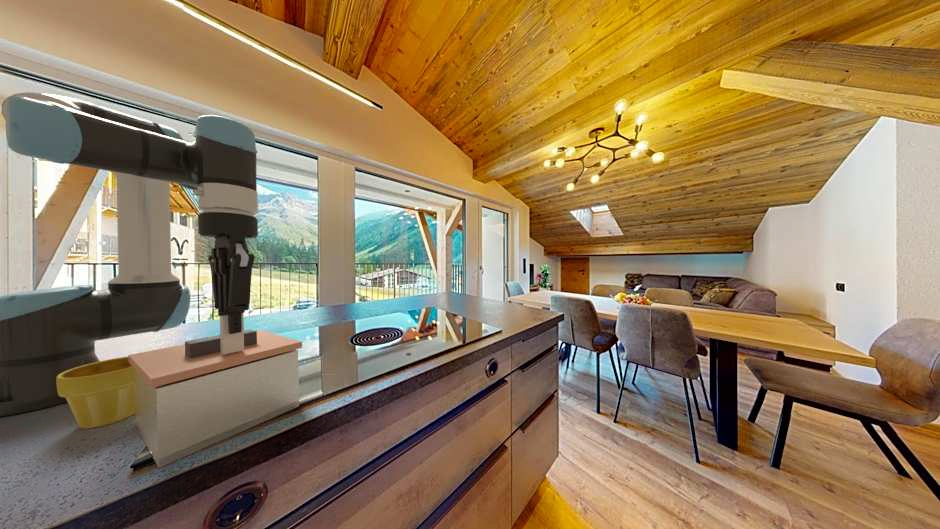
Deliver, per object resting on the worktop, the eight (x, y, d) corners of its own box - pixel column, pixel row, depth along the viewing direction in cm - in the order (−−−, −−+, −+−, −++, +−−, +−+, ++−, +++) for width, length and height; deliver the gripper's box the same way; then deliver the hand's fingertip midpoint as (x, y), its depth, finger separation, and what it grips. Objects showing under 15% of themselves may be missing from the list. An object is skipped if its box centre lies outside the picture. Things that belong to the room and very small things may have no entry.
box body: (135, 426, 46) (133, 363, 46) (260, 384, 61) (259, 337, 61) (158, 468, 36) (156, 389, 36) (299, 406, 52) (298, 350, 52)
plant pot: (83, 440, 42) (81, 379, 42) (41, 432, 44) (39, 375, 44) (168, 405, 52) (167, 356, 52) (131, 400, 55) (129, 353, 54)
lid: (128, 361, 46) (127, 341, 46) (260, 335, 62) (260, 319, 62) (151, 388, 36) (150, 361, 36) (302, 347, 52) (301, 329, 52)
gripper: (187, 215, 45) (190, 351, 46) (212, 205, 38) (216, 366, 39) (242, 220, 52) (244, 340, 52) (272, 213, 45) (275, 351, 45)
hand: (232, 351), depth 45 cm, fingers closed
